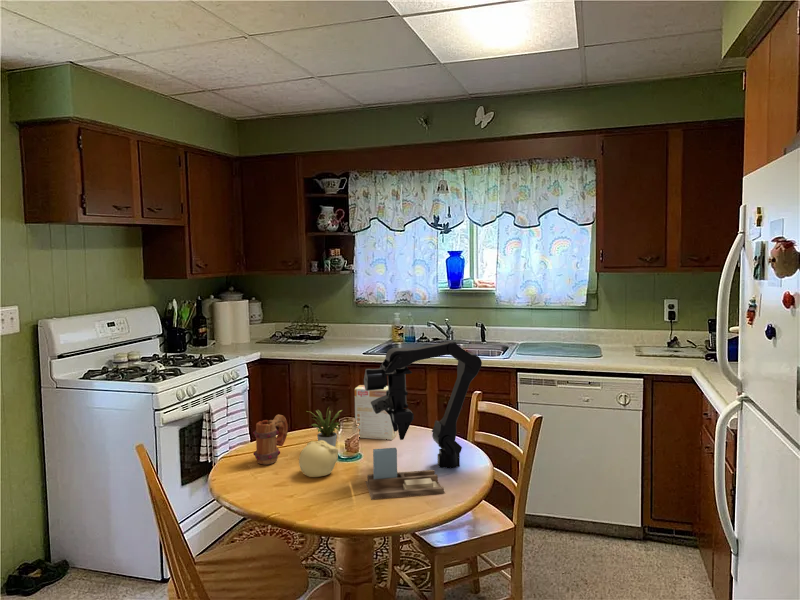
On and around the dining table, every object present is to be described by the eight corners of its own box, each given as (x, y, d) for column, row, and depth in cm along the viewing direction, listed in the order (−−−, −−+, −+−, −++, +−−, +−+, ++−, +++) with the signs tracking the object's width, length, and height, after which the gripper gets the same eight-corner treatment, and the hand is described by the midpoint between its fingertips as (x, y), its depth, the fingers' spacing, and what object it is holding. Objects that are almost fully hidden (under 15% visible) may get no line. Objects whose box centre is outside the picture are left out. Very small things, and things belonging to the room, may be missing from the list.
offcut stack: (435, 485, 185) (435, 477, 185) (438, 490, 181) (438, 482, 181) (403, 487, 184) (402, 480, 183) (405, 493, 179) (405, 485, 179)
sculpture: (343, 471, 200) (342, 439, 199) (319, 483, 190) (318, 449, 189) (317, 465, 207) (316, 433, 206) (292, 476, 197) (291, 443, 196)
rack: (434, 478, 193) (434, 468, 193) (445, 496, 179) (445, 484, 179) (365, 484, 189) (365, 473, 189) (371, 502, 176) (371, 490, 175)
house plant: (300, 458, 213) (298, 412, 212) (307, 445, 227) (306, 402, 225) (340, 458, 212) (339, 412, 211) (346, 445, 226) (345, 402, 225)
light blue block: (396, 482, 188) (395, 447, 187) (397, 484, 186) (396, 449, 185) (373, 484, 187) (373, 449, 186) (374, 486, 185) (373, 451, 184)
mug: (265, 469, 203) (264, 424, 202) (248, 464, 208) (246, 421, 206) (295, 456, 216) (294, 414, 214) (278, 452, 220) (277, 411, 219)
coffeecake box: (397, 434, 239) (396, 385, 237) (392, 440, 232) (392, 390, 230) (360, 432, 242) (359, 384, 241) (355, 438, 235) (354, 388, 234)
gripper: (367, 383, 203) (369, 429, 204) (377, 396, 185) (379, 447, 186) (400, 380, 205) (401, 426, 206) (413, 393, 187) (414, 443, 188)
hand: (398, 435), depth 197 cm, fingers open, 9 cm apart
